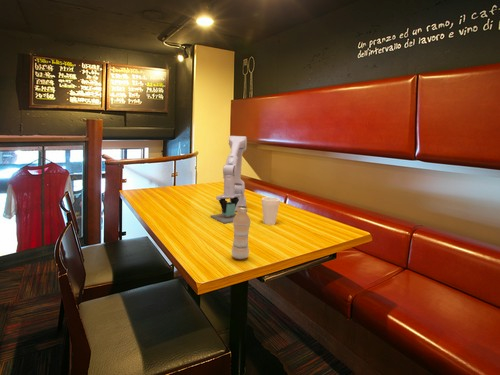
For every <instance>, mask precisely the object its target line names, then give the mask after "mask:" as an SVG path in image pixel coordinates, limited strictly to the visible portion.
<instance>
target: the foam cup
mask: <svg viewBox="0 0 500 375" xmlns="http://www.w3.org/2000/svg"><path fill="white" fill-rule="evenodd" d="M280 202H281V199H280V198H278V197H271V196H265V197H261V207H262V209H261V210H262V219H263V221H262V222H263V224H265V225H268V226H270V225H271V226H274V225H276V222H277V217H278V212H279V208H280Z"/></svg>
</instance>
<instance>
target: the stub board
mask: <svg viewBox="0 0 500 375" xmlns="http://www.w3.org/2000/svg"><path fill="white" fill-rule="evenodd" d="M236 214H237V213H235V215H230V216H226V215H223V214H222V213H219V214H212V215H210V216H209V217H210V218H211V219H213V220H216V221H217V222H219V223H220V224H223V225H226V224H233V219H234V217H235V216H236Z"/></svg>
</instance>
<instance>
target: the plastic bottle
mask: <svg viewBox="0 0 500 375" xmlns="http://www.w3.org/2000/svg"><path fill="white" fill-rule="evenodd" d="M236 212H237V213H235V214H236V216H235V217H234V219H233V223H232V225H233V242H232V246H231V256H232V257H233V259H235V260H245V259H247V258H248V257H249V254H250V248H249V232H250V227H251V221H252V220H251V218H250V216H249V215H248V214H247V213H248V206H247V205H246V206H238V207H237V211H236Z"/></svg>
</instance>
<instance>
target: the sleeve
mask: <svg viewBox="0 0 500 375" xmlns="http://www.w3.org/2000/svg"><path fill="white" fill-rule="evenodd" d="M221 214H223V215H226V216H230V215H235V214H236V211H235V204H234V203H231V202H230V201H227V204H226V213H223V212H222V211H221Z"/></svg>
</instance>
